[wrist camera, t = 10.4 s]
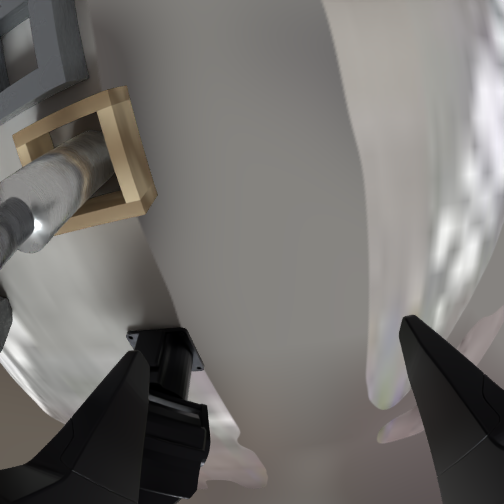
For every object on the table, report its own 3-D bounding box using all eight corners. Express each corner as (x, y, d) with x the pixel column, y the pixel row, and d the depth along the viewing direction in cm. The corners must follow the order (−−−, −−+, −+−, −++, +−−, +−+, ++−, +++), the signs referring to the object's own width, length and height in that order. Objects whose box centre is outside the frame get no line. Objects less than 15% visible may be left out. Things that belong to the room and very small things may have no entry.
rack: (157, 195, 21) (145, 214, 18) (69, 216, 21) (51, 236, 19) (126, 85, 16) (107, 89, 14) (36, 124, 17) (12, 135, 15)
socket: (89, 77, 16) (66, 81, 13) (3, 123, 17) (-21, 134, 14) (70, -28, 11) (47, -36, 8) (-15, 31, 12) (-40, 33, 9)
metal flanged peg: (124, 176, 20) (19, 304, 9) (80, 189, 20) (-28, 307, 9) (108, 123, 18) (-31, 211, 7) (63, 140, 18) (-70, 234, 7)
